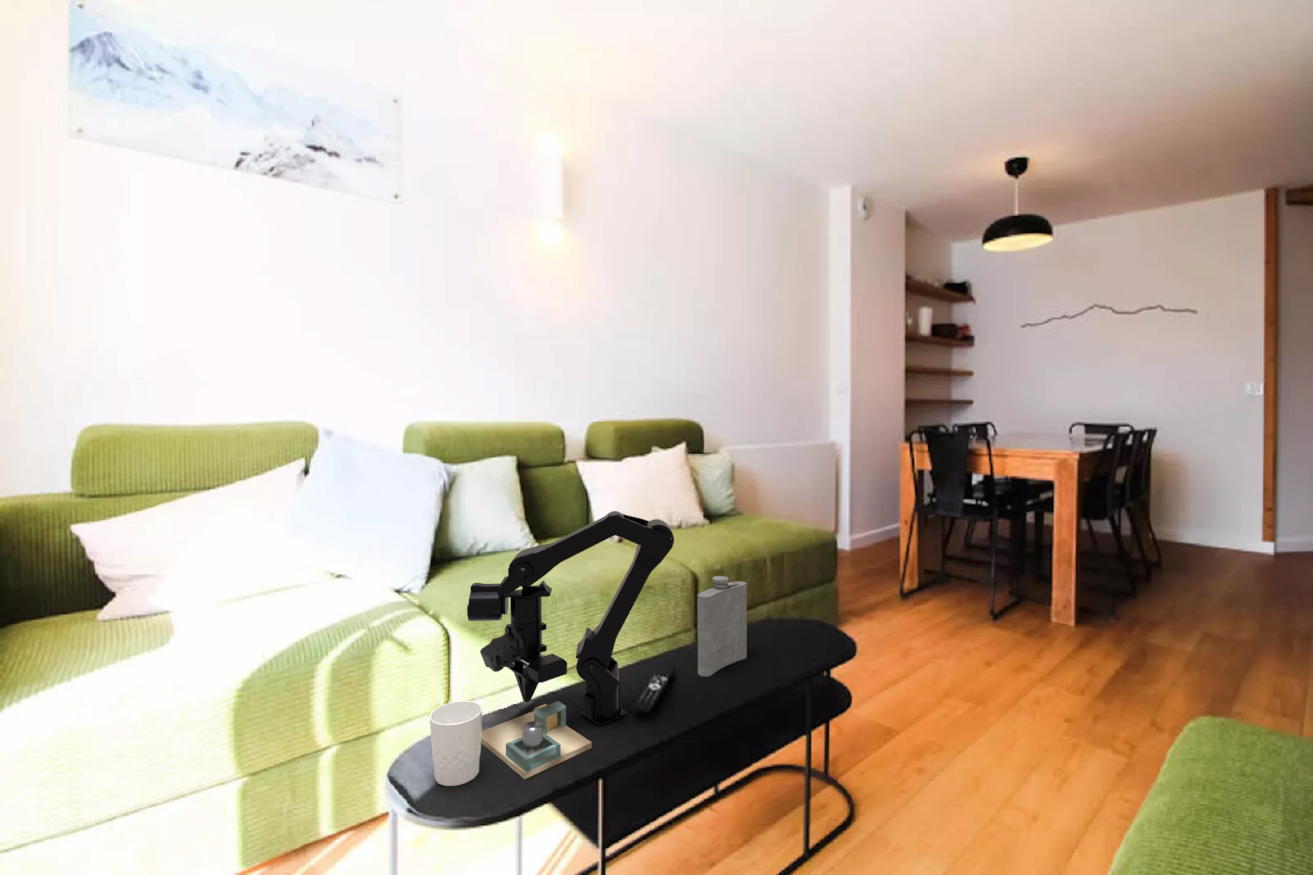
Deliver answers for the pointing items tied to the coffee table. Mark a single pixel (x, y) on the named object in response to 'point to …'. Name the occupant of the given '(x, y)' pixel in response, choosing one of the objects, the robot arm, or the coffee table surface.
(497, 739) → the dock board
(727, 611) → the hip flask
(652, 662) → the coffee table surface
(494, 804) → the coffee table surface
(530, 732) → the spigot peg
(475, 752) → the white cup
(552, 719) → the tan wooden block
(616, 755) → the coffee table surface
